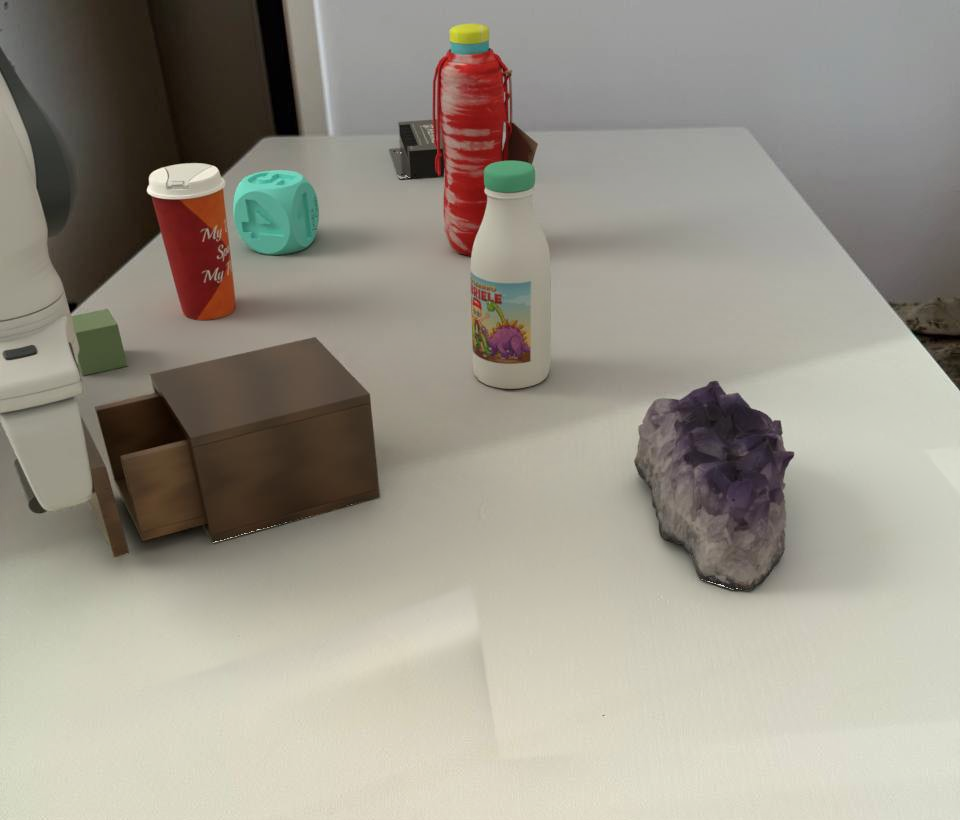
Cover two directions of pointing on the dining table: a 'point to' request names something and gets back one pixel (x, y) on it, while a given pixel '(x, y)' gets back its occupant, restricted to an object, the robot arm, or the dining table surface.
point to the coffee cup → (195, 237)
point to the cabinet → (273, 435)
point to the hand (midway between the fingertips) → (61, 502)
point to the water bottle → (472, 129)
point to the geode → (717, 483)
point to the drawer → (139, 472)
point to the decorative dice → (276, 212)
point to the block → (98, 342)
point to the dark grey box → (417, 150)
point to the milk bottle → (510, 283)
